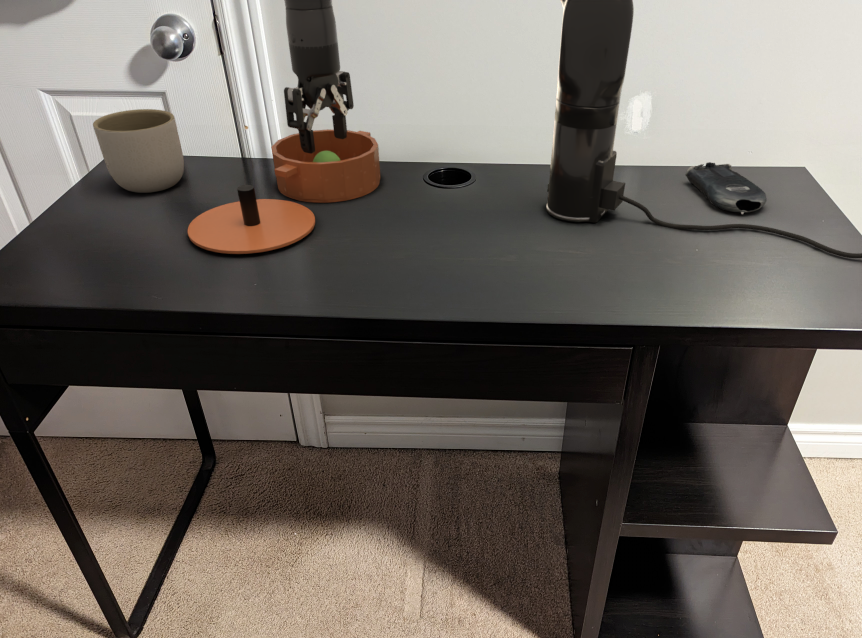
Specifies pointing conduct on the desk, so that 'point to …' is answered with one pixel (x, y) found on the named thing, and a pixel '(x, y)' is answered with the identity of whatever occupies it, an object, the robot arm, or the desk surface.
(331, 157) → the ball
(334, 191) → the pan
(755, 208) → the electronic device
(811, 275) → the desk surface
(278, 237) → the lid
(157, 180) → the planter
